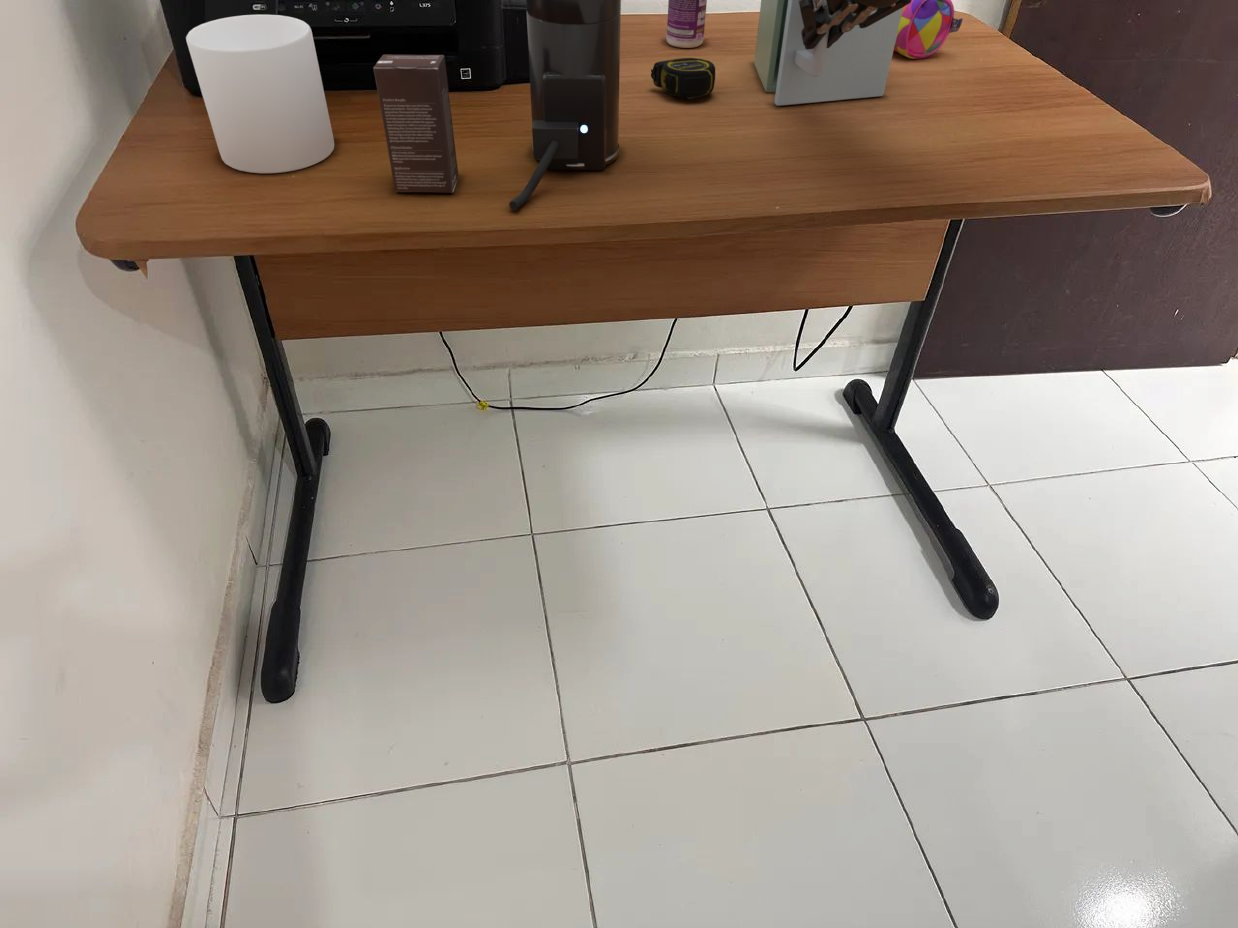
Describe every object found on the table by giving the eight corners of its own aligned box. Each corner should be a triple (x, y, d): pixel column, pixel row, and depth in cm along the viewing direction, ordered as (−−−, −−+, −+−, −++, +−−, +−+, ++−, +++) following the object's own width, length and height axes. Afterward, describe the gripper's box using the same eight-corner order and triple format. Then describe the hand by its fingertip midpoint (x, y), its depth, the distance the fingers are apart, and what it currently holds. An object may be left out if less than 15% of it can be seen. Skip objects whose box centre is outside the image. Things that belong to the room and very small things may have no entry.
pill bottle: (704, 49, 121) (710, -28, 115) (666, 48, 121) (670, -29, 115) (702, 37, 125) (708, -38, 119) (665, 36, 125) (669, -39, 119)
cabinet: (880, 94, 110) (912, -56, 99) (765, 92, 109) (785, -58, 98) (860, 65, 118) (888, -76, 107) (753, 63, 117) (770, -78, 106)
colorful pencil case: (957, 57, 121) (976, -15, 115) (904, 66, 118) (921, -7, 112) (860, 15, 135) (872, -50, 129) (810, 22, 132) (821, -45, 126)
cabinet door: (905, 111, 105) (941, -41, 94) (795, 122, 102) (819, -34, 91) (879, 93, 109) (911, -54, 98) (773, 103, 106) (794, -48, 95)
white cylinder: (356, 139, 96) (334, 22, 88) (292, 181, 88) (262, 57, 80) (266, 123, 99) (237, 9, 91) (197, 163, 91) (158, 41, 82)
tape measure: (697, 82, 112) (700, 51, 109) (723, 100, 107) (726, 68, 104) (649, 89, 110) (651, 57, 107) (673, 107, 105) (675, 75, 102)
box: (459, 176, 90) (446, 53, 81) (453, 195, 86) (438, 69, 78) (401, 175, 90) (382, 51, 81) (392, 194, 86) (371, 67, 78)
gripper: (953, -97, 83) (861, 6, 100) (825, -94, 80) (753, 12, 97) (968, -21, 83) (874, 69, 100) (840, -15, 80) (765, 77, 97)
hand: (815, 40), depth 98 cm, fingers closed
